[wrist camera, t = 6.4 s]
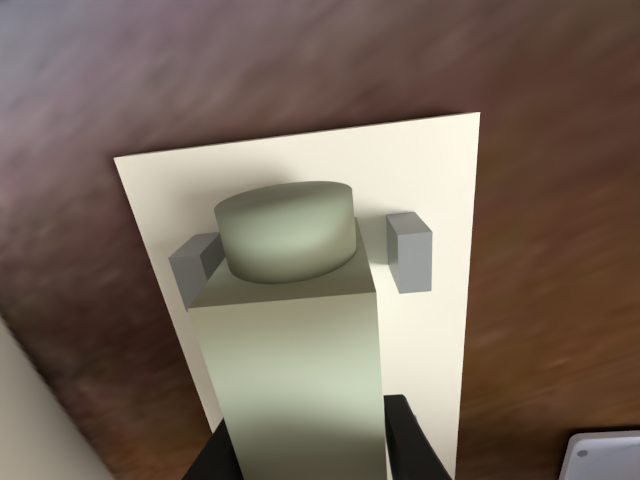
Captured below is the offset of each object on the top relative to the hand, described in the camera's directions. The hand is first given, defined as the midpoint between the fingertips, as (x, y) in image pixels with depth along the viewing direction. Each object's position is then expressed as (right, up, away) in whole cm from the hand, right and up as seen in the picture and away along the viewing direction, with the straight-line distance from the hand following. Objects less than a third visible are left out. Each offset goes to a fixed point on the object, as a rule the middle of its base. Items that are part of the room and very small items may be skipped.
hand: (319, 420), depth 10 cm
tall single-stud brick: (0, +1, +3) cm, 3 cm away
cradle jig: (0, +1, +4) cm, 4 cm away
